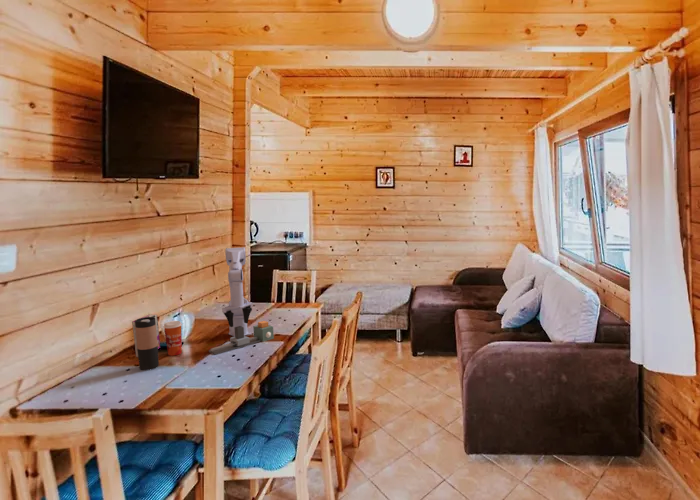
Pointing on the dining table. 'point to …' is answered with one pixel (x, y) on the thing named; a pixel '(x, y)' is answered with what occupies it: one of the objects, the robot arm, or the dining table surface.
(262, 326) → the button
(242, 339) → the carriage
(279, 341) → the dining table surface
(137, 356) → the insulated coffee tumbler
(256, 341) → the rail
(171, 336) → the paper cup
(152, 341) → the travel mug
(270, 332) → the cabinet
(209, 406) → the dining table surface
